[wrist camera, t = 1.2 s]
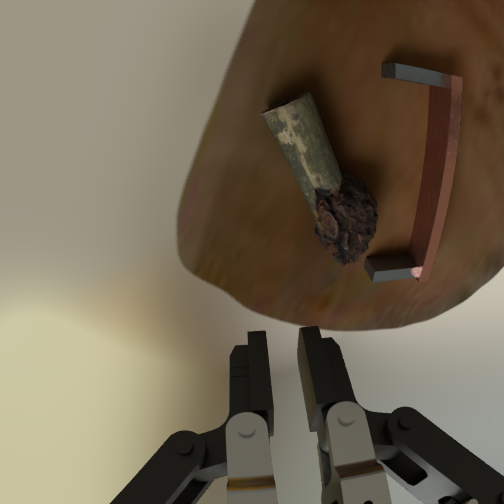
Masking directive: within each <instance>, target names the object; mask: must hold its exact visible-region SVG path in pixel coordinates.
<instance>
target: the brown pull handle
mask: <svg viewBox="0 0 504 504" xmlns="http://www.w3.org/2000/svg"><path fill="white" fill-rule="evenodd" d="M382 77H383V78H390V79H397V80H403V81H409V82H415V83H420V84H425V85H430V95H429V116H428V129H427V141H426V150H425V159H424V167H423V175H422V182H421V188H420V194H419V200H418V206H417V212H416V217H415V222H414V227H413V232H412V237H411V241H410V246H409V250H408V254H402V255H390V256H378V257H366V261H365V267H364V268H365V270H366V271H367V273H368V275H369V277H370V278H371V280H372V282H379V281H388V280H397V279H406V278H414V277H415V278H416V279H417V281H418V282H424V281H428V280H429V276H430V273H431V270H432V267H433V263H434V260H435V256H436V253H437V249H438V246H439V242H440V238H441V234H442V230H443V226H444V222H445V217H446V213H447V208H448V203H449V198H450V193H451V188H452V182H453V177H454V170H455V164H456V157H457V149H458V141H459V132H460V121H461V107H462V84H463V78H462V77H458V76H455V75H450V74H444V73H440V72H436V71H432V70H427V69H423V68H418V67H413V66H408V65H403V64H398V63H382Z"/></svg>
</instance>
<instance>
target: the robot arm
mask: <svg viewBox="0 0 504 504" xmlns="http://www.w3.org/2000/svg"><path fill="white" fill-rule="evenodd" d="M297 357H298V366H299V371H300V378H301V383H302V389H303V394H304V400H305V405H306V411H307V417H308V423H309V429H310V432H315V431H317V434H318V440H319V441H318V445H317V450H318V456H319V465H320V474H321V482H322V494H321V504H392V503H391V498H390V492H389V487H388V482H387V478H386V473H387V474H388V475H389V476H390V477H392V478H393V479H394V480H395V481H396V482H398V483H399V484H400V485H401V486H403V487H404V488H405V489H406V490H407V491H409V492H410V493H411V494H412V495H414V496H415V497H416V498H417V499H419V500H420V501H421V502H422V503H424V504H504V476H503V475H501V474H500V473H499V472H497V471H496V470H494V469H493V468H492V467H490V466H489V465H487V464H486V463H485V462H484V461H482V460H481V459H480V458H478V457H477V456H476V455H474V454H473V453H472V452H470V451H469V450H468V449H466V448H465V447H464V446H462V445H461V444H460V443H458V442H457V441H456V440H454V439H453V438H452V437H450V436H449V435H448V434H446V433H445V432H444V431H443V430H441V429H440V428H439V427H437V426H436V425H435V424H434V423H432V422H431V421H430V420H428V419H427V418H426V417H424V416H423V415H422V414H421V413H419V412H418V411H417V410H415V409H413V408H411V407H400V408H397V409H396V410H394V411H393V412H392V413H378V412H371V411H368V410H366V409H364V408H363V407H361V406H360V405H359V404H358V402H357V401H356V399H355V396H354V393H353V389H352V386H351V382H350V379H349V376H348V372H347V369H346V367H345V363H344V359H343V356H342V353H341V350H340V346H339V345H338V344H337V343H336V342H335V341H334V340H333V338H332V337H329V338H322V337H321V334H320V330H319V327H318V326H311V327H301V328H299V337H298V349H297ZM273 426H274V407H273V397H272V387H271V377H270V368H269V358H268V348H267V338H266V331H252V332H248V345H237V346H235V347H234V349H233V351H232V353H231V355H230V410H229V416H228V418H227V420H226V421H225V423H224V424H223V425H222V426H220V427H219V428H217V429H214V430H212V431H208V432H205V433H202V434H197V433H194V432H192V431H178V432H176V433H174V434H172V435H171V436H170V437H169V438H168V439H167V440H166V441H165V442H164V444H163V445H162V446H161V447H160V448H159V449H158V451H157V452H156V453H155V454H154V455H153V456H152V457H151V459H150V460H149V461H148V462H147V463H146V464H145V465H144V467H143V468H142V469H141V470H140V471H139V472H138V473H137V474H136V476H135V477H134V478H133V479H132V480H131V481H130V482H129V483H128V484H127V486H126V487H125V488H124V489H123V490H122V491H121V492H120V493H119V494H118V495H117V496H116V497H115V498H114V500H113V501H112V502H111V503H110V504H196V503H197V502H198V500H199V499H200V498H201V497H202V495H203V494H204V493H205V491H206V490H207V489H208V487H209V486H210V485H211V483H212V482H213V481H214V479H217V478H220V477H224V476H227V475H228V483H227V504H278V500H277V492H276V485H275V481H274V476H273V468H272V460H271V452H270V436H273V433H274V427H273ZM385 472H386V473H385Z"/></svg>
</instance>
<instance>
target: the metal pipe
mask: <svg viewBox="0 0 504 504" xmlns="http://www.w3.org/2000/svg"><path fill="white" fill-rule="evenodd" d="M260 115H261V116H262V117H263V119H264V121H265V122H266V124H267V126H268V127H269V129H270V131H271V133H272V134H273V136H274V138H275V140H276V142H277V144H278V145H279V147H280V149H281V151H282V153H283V155H284V157H285V159H286V161H287V163H288V165H289V167H290V168H291V170H292V172H293V174H294V176H295V178H296V180H297V182H298V184H299V186H300V188H301V191H302V193H303V195H304V197H305V199H306V201H307V203H308V205H309V208H310V210H311V212H312V214H313V217H314V219H315V222H316V228H315V231H314V233H315V236H316V238H317V239H318V240H319V241H321V244H322V245H323V246H324V248H325V249H329V250H330V252H331V253H332V254H333V259H334V260H336V261H338V262H339V264H340V265H341V266H344V265H345V264H346V263H348V264H349V262H354V263H355V262H356V261H357V262H358V261H359V259H360V256H361V254H363V253H364V252H365V251H366V250H367V249H368V248H369V247H368V243H369V242H370V241H371V239H372V238H374V235H375V231H376V223H377V219H378V215H377V213H376V212H377V210H376V208H377V203H376V202H375V199H374V198H373V197H372V195H371V194H370V192H369V190H368V187H367V186H366V184H364V182H363V181H362V180H360V179H359V178H357V177H354V176H353V175H352V174H351V173H349V172H342V171H340V169H339V166H338V163H337V160H336V158H335V155H334V152H333V150H332V147H331V145H330V142H329V140H328V137H327V134H326V132H325V129H324V126H323V123H322V121H321V118H320V115H319V113H318V110H317V108H316V105H315V103H314V100H313V98H312V95H311V93H310V92H308V93H304V94H301V95H298V96H295V97H293V98H289V99H287V100H285V101H283V102H281V103H279V104H276V105H274V106H272V107H270V108H269V109H266V110H265V111H263V112H262V113H260Z"/></svg>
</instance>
